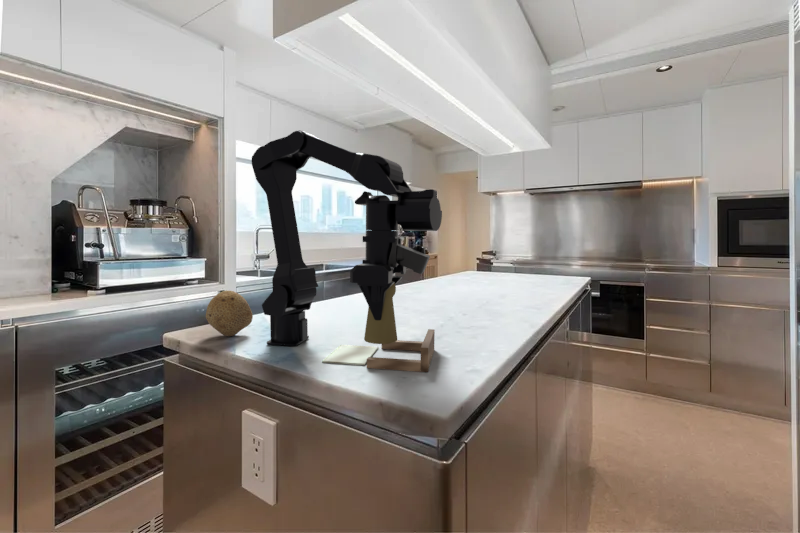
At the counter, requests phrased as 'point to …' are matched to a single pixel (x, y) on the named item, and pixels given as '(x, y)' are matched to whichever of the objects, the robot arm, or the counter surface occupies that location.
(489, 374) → the counter surface
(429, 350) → the wooden frame with plate
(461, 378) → the counter surface
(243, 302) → the natural sponge
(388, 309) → the cork
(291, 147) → the robot arm
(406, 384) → the counter surface
